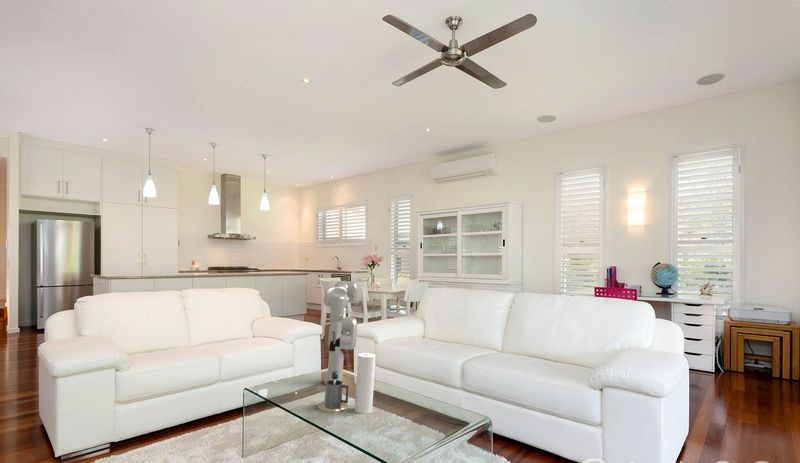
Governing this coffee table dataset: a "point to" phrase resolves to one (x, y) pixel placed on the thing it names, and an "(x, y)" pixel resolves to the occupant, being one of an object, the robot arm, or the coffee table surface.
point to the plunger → (334, 376)
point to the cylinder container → (365, 383)
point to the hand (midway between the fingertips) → (334, 348)
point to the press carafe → (334, 397)
